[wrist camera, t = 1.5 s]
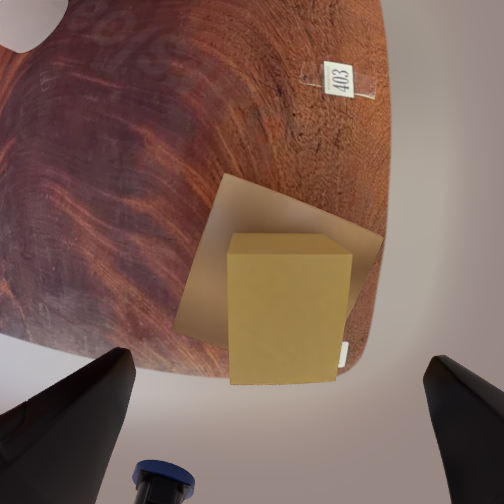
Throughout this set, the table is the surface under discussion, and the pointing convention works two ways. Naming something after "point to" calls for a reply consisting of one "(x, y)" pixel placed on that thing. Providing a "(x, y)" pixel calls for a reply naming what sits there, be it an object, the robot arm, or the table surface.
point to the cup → (28, 22)
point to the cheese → (286, 307)
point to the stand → (258, 221)
